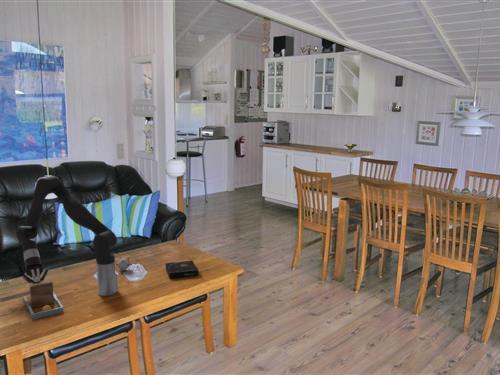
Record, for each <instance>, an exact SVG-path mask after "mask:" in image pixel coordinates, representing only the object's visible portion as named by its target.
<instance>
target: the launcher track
mask: <svg viewBox="0 0 500 375" xmlns="http://www.w3.org/2000/svg"><path fill="white" fill-rule="evenodd" d="M53 294H54V302H55V304H57V299H59V298H58V296H57V295H56V293H55V292H54V290H53ZM23 302H24V303H25V306H26V308H27V311H28V312H29V308H28V306H31V304H30V303H29V300H28V298H27V296H26V295H25V296H23Z"/></svg>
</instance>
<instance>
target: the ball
mask: <svg viewBox="0 0 500 375" xmlns="http://www.w3.org/2000/svg"><path fill="white" fill-rule="evenodd" d="M51 309H52V307H51V305H50V304H47V305H43V307H42V309H41V312H43V311H47V310H51Z"/></svg>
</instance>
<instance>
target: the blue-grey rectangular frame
mask: <svg viewBox="0 0 500 375" xmlns="http://www.w3.org/2000/svg"><path fill="white" fill-rule="evenodd" d="M56 305H57V307H56V308H51V310H47V311H43V312H42V311H39V312H35V313H34V311H33V308H32V306H31V305H30V306H28V308H29V311H28V312H29V314H30V317H31V319H32V321H33V320H37V319H41V318H45V317H49V316H53V315H58V314H61V313H64V306H63V305H62V303H61V302H60V300H59V298H58V299H57V303H56Z"/></svg>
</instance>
